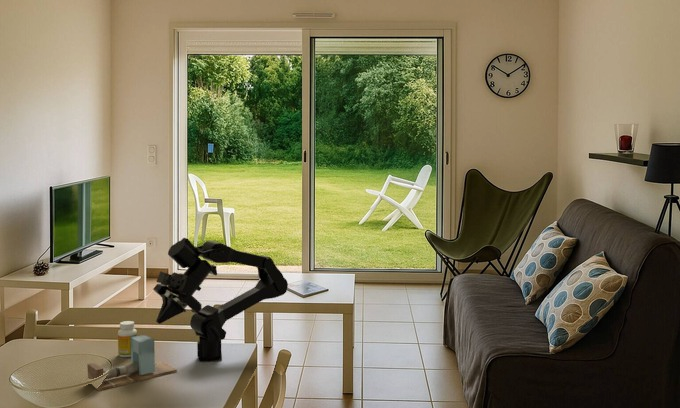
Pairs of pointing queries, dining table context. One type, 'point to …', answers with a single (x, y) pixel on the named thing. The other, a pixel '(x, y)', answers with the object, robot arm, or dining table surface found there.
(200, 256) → the robot arm
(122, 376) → the pipe rig
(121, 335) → the supplement bottle
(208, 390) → the dining table surface
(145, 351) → the light blue upright block
